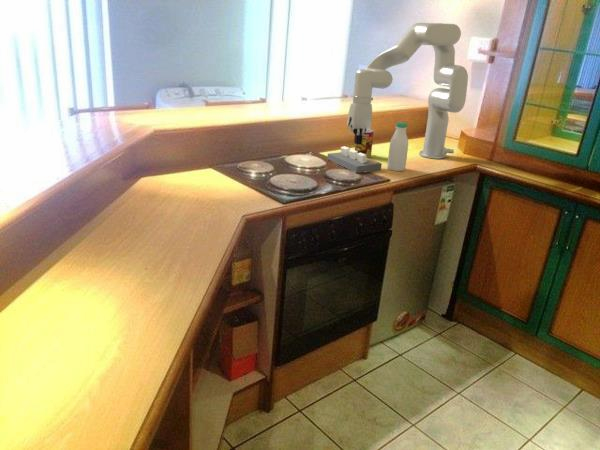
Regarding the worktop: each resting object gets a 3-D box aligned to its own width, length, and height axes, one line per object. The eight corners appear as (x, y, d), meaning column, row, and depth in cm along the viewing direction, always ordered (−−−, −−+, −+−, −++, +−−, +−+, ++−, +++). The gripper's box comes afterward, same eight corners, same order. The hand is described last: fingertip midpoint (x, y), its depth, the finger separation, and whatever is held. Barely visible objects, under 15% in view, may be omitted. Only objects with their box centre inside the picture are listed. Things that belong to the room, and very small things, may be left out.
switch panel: (350, 157, 225) (351, 150, 224) (380, 170, 208) (381, 163, 207) (327, 160, 219) (327, 153, 218) (356, 173, 202) (356, 165, 200)
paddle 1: (345, 152, 219) (344, 146, 217) (350, 154, 216) (349, 148, 214) (341, 154, 218) (340, 147, 216) (346, 156, 215) (345, 149, 213)
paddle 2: (361, 159, 209) (360, 152, 208) (366, 161, 206) (366, 154, 205) (357, 160, 209) (356, 153, 207) (363, 163, 205) (362, 156, 204)
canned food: (350, 155, 229) (353, 129, 225) (360, 152, 235) (363, 127, 230) (364, 158, 224) (367, 132, 220) (374, 156, 230) (377, 130, 225)
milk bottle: (404, 172, 206) (411, 125, 199) (386, 170, 208) (392, 123, 200) (405, 167, 213) (411, 121, 206) (387, 166, 215) (392, 120, 207)
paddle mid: (353, 155, 214) (352, 149, 212) (358, 158, 211) (357, 151, 209) (349, 157, 213) (348, 150, 212) (354, 159, 210) (353, 152, 209)
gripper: (370, 98, 210) (366, 140, 217) (342, 99, 203) (338, 143, 210) (381, 101, 204) (376, 144, 211) (352, 102, 197) (348, 147, 204)
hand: (357, 143), depth 210 cm, fingers closed
